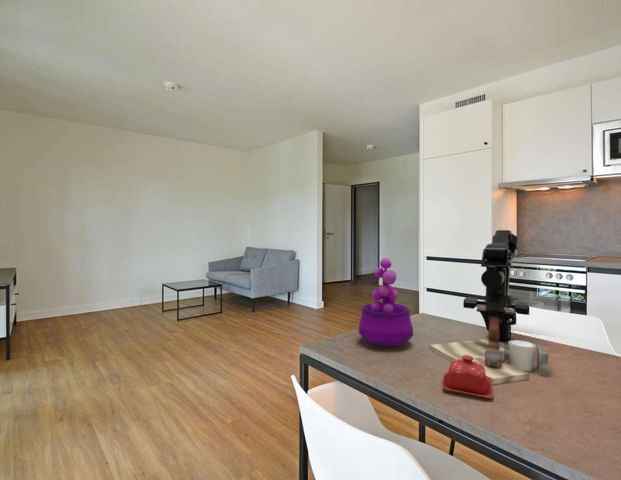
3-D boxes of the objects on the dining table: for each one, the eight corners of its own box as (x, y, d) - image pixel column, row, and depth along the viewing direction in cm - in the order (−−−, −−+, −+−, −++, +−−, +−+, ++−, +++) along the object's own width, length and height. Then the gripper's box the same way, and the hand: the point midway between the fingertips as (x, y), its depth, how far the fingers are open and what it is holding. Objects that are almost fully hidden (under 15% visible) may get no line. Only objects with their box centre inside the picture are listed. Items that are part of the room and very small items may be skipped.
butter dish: (491, 383, 91) (492, 351, 90) (493, 404, 80) (494, 367, 80) (444, 375, 95) (445, 345, 95) (440, 394, 85) (441, 359, 85)
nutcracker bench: (488, 342, 122) (489, 325, 122) (563, 374, 96) (564, 352, 96) (429, 349, 115) (429, 331, 115) (492, 384, 89) (492, 361, 89)
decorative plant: (424, 346, 118) (425, 258, 117) (383, 356, 109) (383, 261, 108) (386, 331, 135) (387, 255, 134) (348, 339, 126) (348, 257, 125)
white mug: (541, 372, 97) (541, 347, 97) (516, 371, 97) (516, 347, 97) (526, 362, 104) (526, 339, 104) (503, 362, 104) (503, 339, 104)
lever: (504, 368, 95) (505, 336, 94) (484, 365, 97) (484, 333, 97) (503, 344, 114) (503, 317, 114) (486, 342, 116) (486, 315, 116)
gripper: (462, 285, 110) (460, 333, 111) (531, 290, 101) (529, 343, 102) (465, 280, 120) (464, 324, 121) (529, 285, 111) (527, 333, 112)
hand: (494, 331), depth 114 cm, fingers open, 3 cm apart
